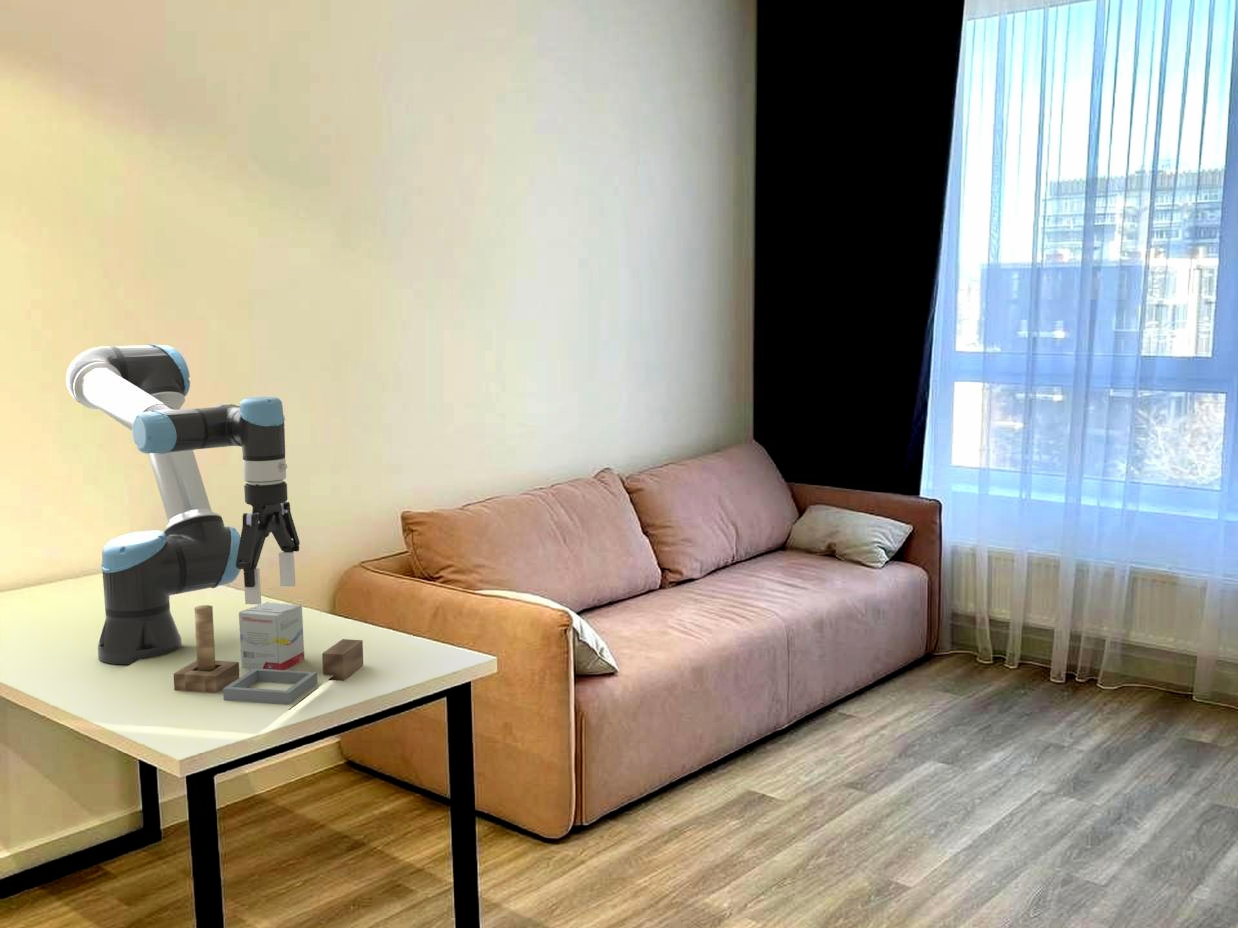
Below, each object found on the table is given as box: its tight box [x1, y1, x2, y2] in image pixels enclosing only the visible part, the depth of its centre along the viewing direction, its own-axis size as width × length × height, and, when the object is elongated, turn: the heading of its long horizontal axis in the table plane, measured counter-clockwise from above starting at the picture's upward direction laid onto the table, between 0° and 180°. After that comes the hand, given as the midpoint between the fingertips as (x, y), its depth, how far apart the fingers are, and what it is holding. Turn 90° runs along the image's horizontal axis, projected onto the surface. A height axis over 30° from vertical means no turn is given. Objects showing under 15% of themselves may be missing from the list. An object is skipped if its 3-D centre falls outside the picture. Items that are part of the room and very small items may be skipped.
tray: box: [222, 668, 318, 711], centre depth 201 cm, size 12×11×3 cm
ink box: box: [238, 601, 305, 670], centre depth 216 cm, size 9×9×12 cm
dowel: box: [193, 604, 216, 672], centre depth 204 cm, size 3×3×14 cm
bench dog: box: [321, 638, 364, 682], centre depth 214 cm, size 4×9×5 cm, turn 170°
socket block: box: [173, 659, 241, 694], centre depth 205 cm, size 8×8×4 cm
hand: (271, 594), depth 214 cm, fingers open, 13 cm apart
